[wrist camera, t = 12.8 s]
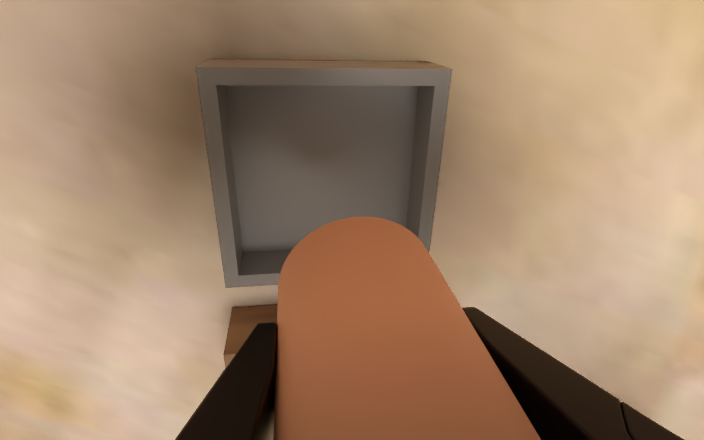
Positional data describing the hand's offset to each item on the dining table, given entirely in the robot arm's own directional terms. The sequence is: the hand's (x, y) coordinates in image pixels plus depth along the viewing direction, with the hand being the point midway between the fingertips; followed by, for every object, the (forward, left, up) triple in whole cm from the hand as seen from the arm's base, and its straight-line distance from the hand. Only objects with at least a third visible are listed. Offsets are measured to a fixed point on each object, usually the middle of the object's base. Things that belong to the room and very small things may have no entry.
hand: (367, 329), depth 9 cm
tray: (0, 0, -12) cm, 12 cm away
